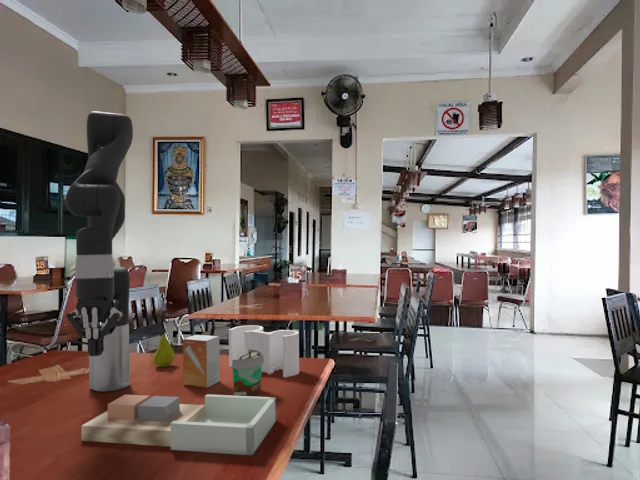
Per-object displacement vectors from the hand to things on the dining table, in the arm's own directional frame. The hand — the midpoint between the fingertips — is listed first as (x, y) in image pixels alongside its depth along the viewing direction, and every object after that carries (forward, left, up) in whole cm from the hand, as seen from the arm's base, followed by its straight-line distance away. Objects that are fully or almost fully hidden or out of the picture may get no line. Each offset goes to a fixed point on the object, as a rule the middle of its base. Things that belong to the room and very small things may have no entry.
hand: (95, 355), depth 96 cm
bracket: (+23, +48, -16) cm, 56 cm away
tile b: (+15, 0, -12) cm, 19 cm away
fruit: (-10, +46, -16) cm, 50 cm away
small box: (+10, +31, -16) cm, 36 cm away
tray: (+30, 0, -15) cm, 34 cm away
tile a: (+8, 0, -12) cm, 15 cm away
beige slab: (+12, 0, -15) cm, 19 cm away
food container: (+27, +25, -16) cm, 40 cm away
